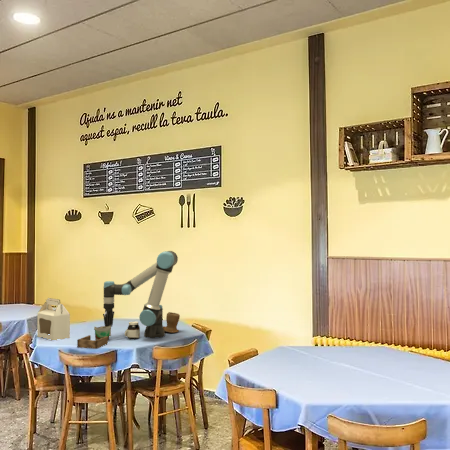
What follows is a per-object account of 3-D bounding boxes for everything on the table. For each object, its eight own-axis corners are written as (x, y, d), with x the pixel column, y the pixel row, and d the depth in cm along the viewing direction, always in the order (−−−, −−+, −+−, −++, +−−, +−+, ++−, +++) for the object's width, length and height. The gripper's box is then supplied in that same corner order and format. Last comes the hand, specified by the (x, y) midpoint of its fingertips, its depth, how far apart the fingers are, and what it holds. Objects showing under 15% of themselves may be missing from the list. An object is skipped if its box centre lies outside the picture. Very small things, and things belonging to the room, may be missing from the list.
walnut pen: (107, 343, 343) (107, 336, 343) (96, 348, 328) (96, 341, 328) (89, 342, 346) (89, 335, 347) (77, 347, 332) (77, 339, 332)
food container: (96, 343, 345) (97, 329, 344) (93, 340, 350) (94, 326, 349) (113, 340, 353) (114, 327, 351) (109, 338, 357) (110, 324, 356)
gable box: (37, 336, 365) (37, 298, 366) (53, 333, 375) (53, 296, 376) (53, 341, 351) (53, 301, 351) (70, 338, 361) (70, 299, 361)
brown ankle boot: (182, 332, 382) (182, 312, 382) (170, 334, 374) (170, 314, 374) (170, 329, 393) (170, 310, 393) (158, 331, 385) (158, 312, 385)
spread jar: (136, 340, 354) (136, 323, 354) (121, 339, 356) (121, 323, 356) (142, 336, 366) (142, 320, 366) (127, 336, 368) (127, 320, 368)
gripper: (108, 301, 367) (108, 333, 366) (99, 304, 354) (99, 337, 354) (117, 301, 365) (117, 334, 364) (109, 304, 352) (109, 338, 352)
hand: (108, 335), depth 359 cm, fingers closed
